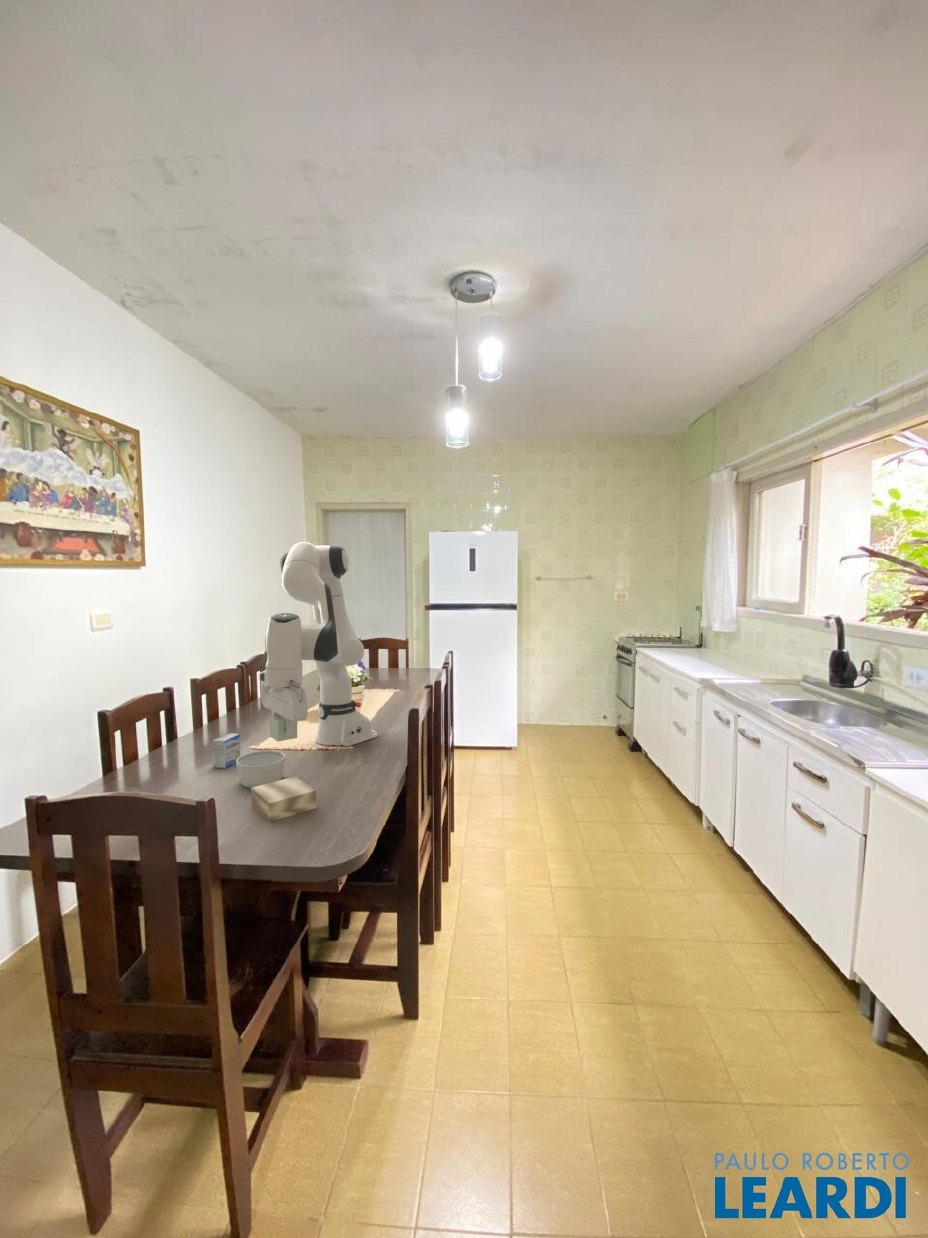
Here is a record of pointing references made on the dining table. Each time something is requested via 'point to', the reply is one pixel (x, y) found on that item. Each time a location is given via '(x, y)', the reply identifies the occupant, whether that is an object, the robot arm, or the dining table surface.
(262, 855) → the dining table surface
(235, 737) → the medicine box
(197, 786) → the dining table surface
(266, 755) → the ramekin
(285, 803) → the birch block
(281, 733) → the sage cube
